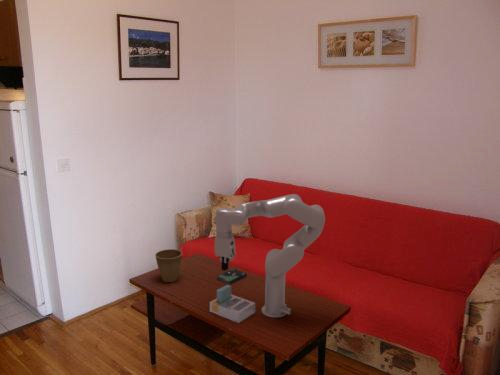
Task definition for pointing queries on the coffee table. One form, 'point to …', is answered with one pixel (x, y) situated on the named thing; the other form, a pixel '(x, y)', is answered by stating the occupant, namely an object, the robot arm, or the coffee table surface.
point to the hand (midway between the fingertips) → (225, 269)
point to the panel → (223, 294)
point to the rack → (233, 308)
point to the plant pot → (169, 264)
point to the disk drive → (231, 276)
